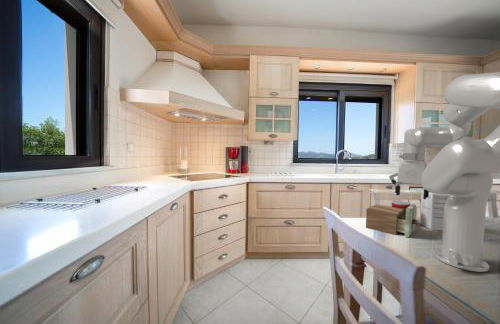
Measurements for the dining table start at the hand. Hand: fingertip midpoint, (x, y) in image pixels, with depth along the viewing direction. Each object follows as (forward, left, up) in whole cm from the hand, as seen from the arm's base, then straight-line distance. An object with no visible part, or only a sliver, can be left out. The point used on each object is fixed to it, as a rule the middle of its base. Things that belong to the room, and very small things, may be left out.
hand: (411, 196), depth 95 cm
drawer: (0, +4, -16) cm, 16 cm away
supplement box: (+19, -7, -17) cm, 26 cm away
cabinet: (0, +9, -16) cm, 19 cm away
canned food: (+12, +6, -17) cm, 21 cm away
